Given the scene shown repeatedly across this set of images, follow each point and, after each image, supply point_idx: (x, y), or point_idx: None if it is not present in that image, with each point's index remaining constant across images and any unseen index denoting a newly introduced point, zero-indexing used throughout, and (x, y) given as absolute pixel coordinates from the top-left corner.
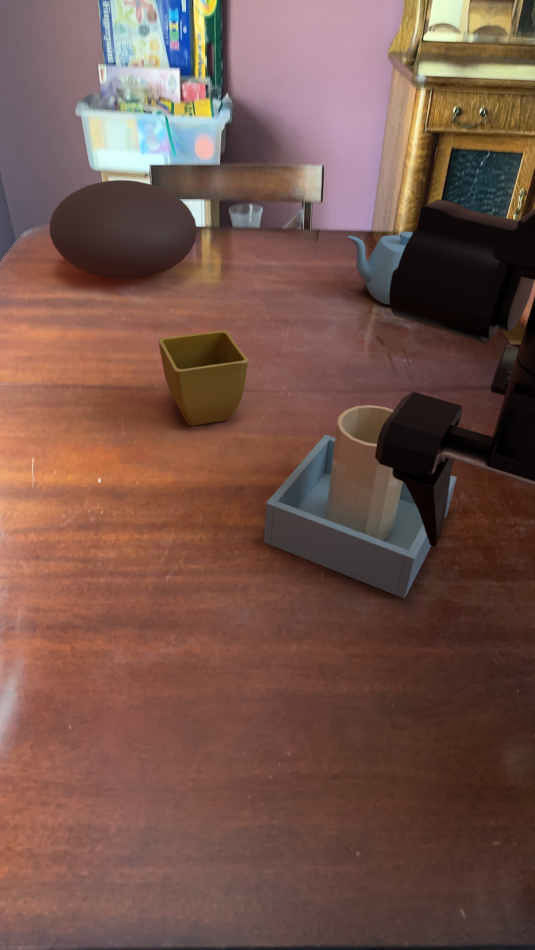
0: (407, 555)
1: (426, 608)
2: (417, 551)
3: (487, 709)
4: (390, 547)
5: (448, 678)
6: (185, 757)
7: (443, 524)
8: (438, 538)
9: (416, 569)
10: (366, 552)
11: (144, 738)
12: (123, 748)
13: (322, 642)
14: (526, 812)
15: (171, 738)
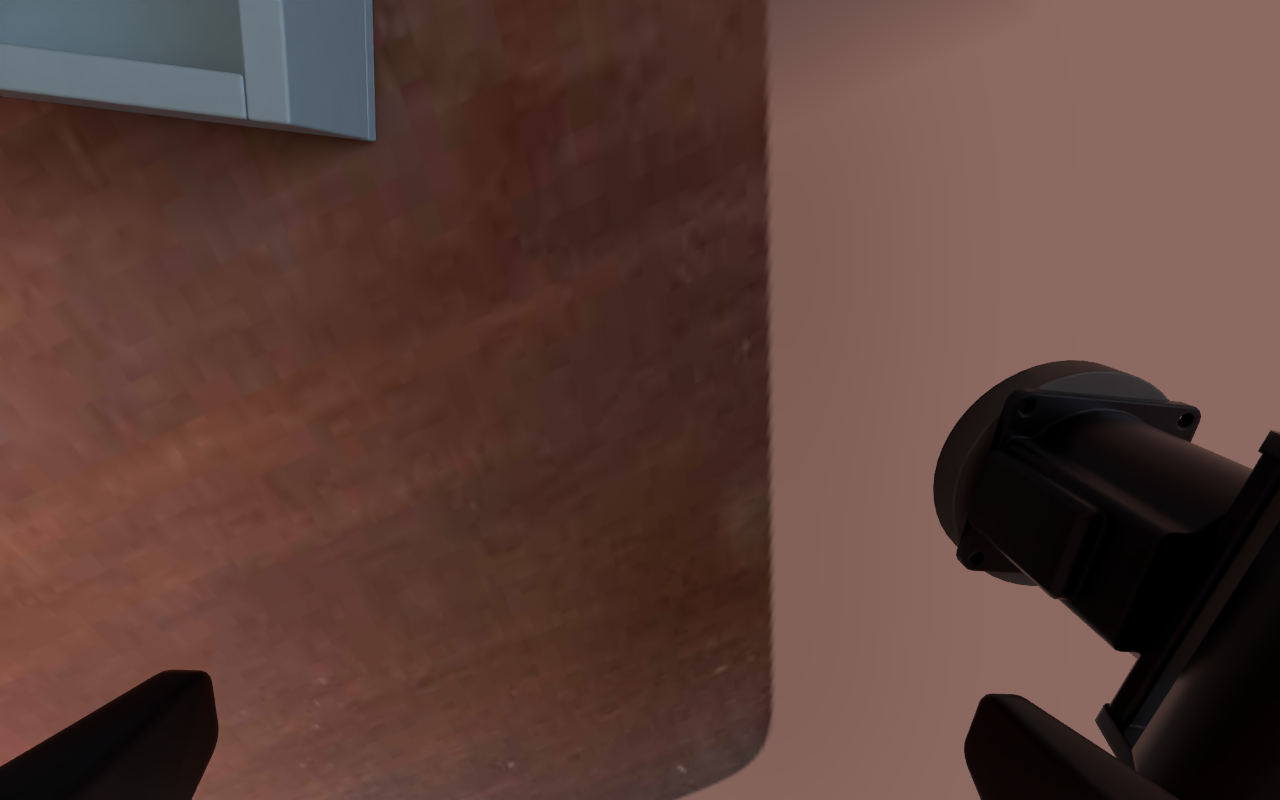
0: (253, 115)
1: (455, 152)
2: (283, 63)
3: (680, 428)
4: (160, 93)
5: (577, 382)
6: None
7: (118, 771)
8: (187, 750)
9: (351, 19)
10: (103, 104)
11: None
12: None
13: (233, 411)
14: (770, 604)
15: None
